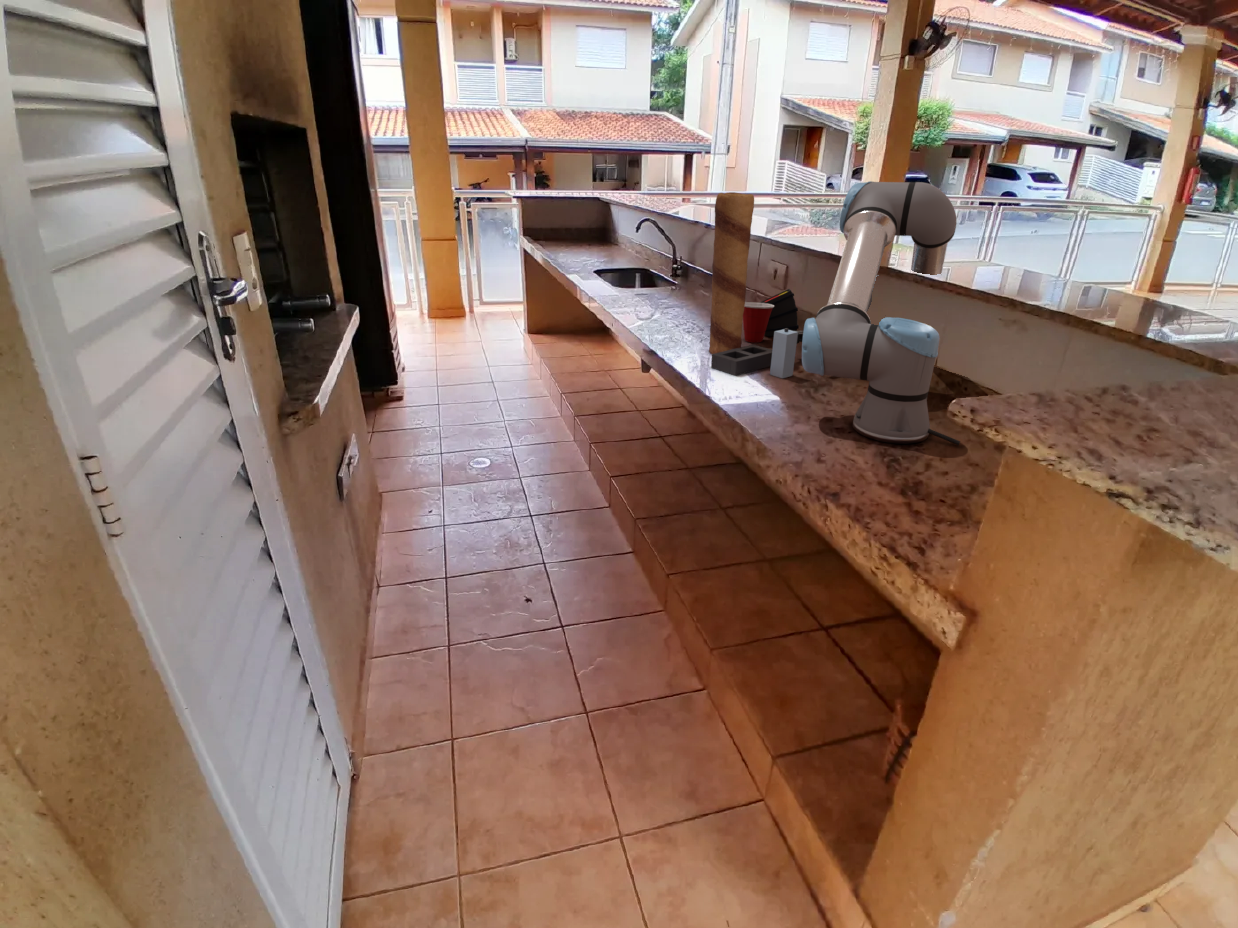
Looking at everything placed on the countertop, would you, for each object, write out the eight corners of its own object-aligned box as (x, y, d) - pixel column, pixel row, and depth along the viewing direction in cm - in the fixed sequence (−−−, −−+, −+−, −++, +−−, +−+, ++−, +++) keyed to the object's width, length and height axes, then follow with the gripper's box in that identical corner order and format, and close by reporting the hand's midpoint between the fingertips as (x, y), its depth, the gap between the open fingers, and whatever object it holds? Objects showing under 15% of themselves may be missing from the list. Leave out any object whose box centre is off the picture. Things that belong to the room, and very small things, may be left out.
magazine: (807, 331, 205) (792, 290, 199) (769, 348, 208) (754, 307, 202) (804, 328, 208) (789, 288, 203) (767, 345, 211) (752, 305, 205)
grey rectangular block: (792, 375, 168) (798, 329, 162) (782, 378, 166) (787, 331, 160) (780, 371, 171) (785, 326, 166) (769, 374, 169) (774, 328, 163)
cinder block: (776, 364, 177) (777, 351, 175) (735, 375, 168) (736, 361, 166) (751, 357, 184) (752, 344, 182) (711, 367, 175) (711, 354, 173)
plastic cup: (775, 338, 203) (779, 302, 198) (763, 346, 195) (767, 308, 190) (744, 334, 209) (747, 298, 203) (732, 341, 200) (734, 304, 195)
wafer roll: (712, 346, 196) (721, 192, 176) (744, 349, 192) (758, 192, 172) (701, 354, 187) (710, 193, 167) (735, 358, 183) (748, 194, 163)
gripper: (885, 356, 174) (839, 370, 162) (813, 339, 192) (767, 350, 181) (890, 330, 170) (843, 342, 159) (816, 314, 188) (769, 325, 177)
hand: (803, 346), depth 170 cm, fingers open, 13 cm apart
